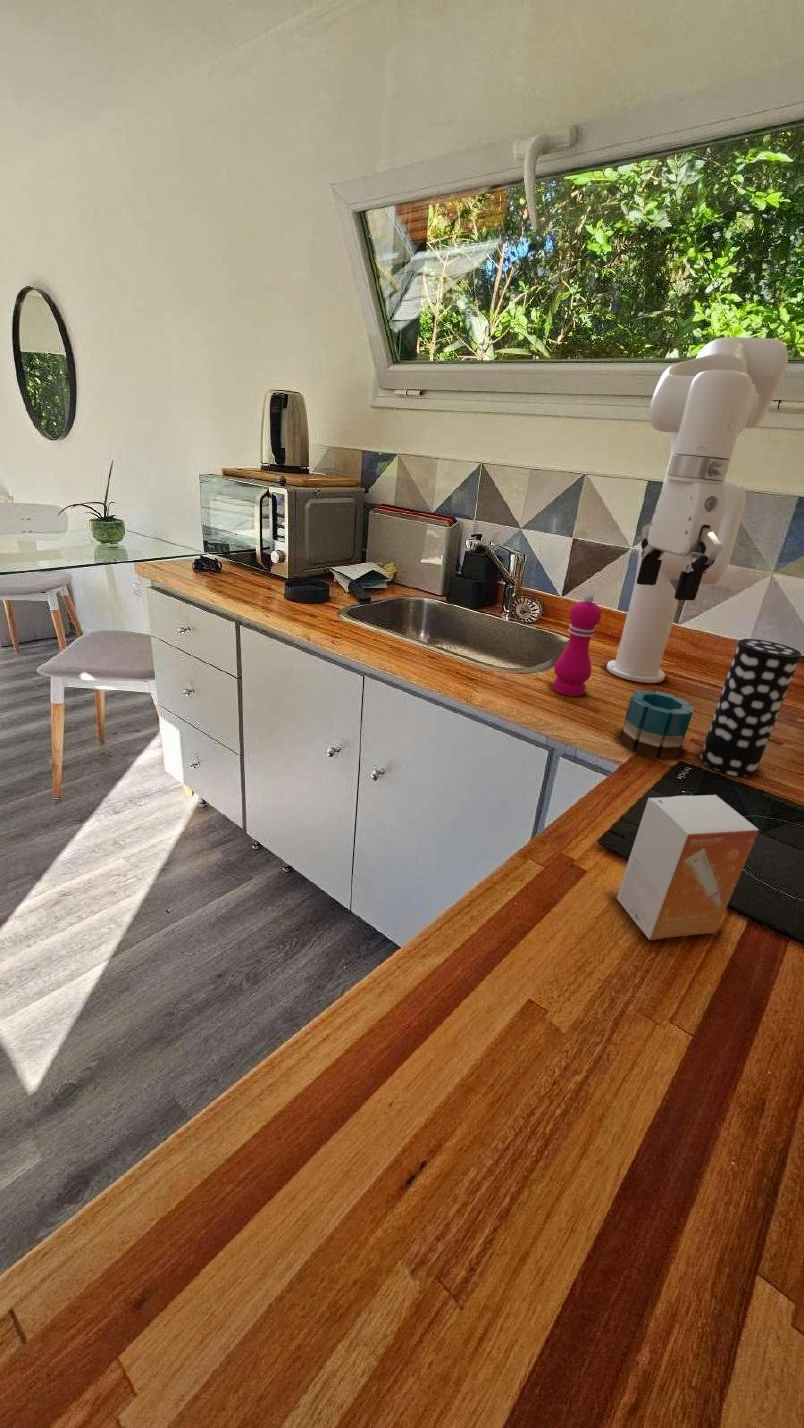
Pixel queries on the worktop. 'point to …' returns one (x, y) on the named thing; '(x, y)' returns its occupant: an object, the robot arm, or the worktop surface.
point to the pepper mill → (577, 649)
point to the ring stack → (650, 742)
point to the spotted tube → (749, 706)
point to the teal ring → (659, 713)
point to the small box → (685, 865)
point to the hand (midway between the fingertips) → (664, 591)
